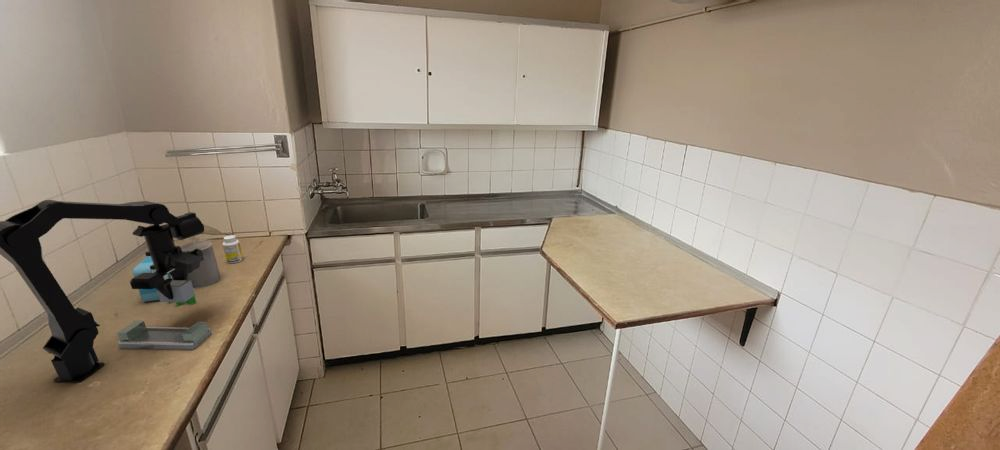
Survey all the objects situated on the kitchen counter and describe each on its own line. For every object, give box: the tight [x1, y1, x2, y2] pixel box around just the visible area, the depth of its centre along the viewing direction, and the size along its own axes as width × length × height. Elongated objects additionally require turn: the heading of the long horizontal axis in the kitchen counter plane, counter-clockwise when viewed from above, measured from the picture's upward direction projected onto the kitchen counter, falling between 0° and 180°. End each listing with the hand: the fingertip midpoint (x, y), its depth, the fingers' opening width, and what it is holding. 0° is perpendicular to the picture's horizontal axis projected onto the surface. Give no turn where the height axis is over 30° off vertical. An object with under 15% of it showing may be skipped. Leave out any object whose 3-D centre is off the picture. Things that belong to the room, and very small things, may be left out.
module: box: [157, 280, 196, 303], centre depth 114 cm, size 4×7×5 cm, turn 89°
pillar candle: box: [180, 240, 221, 289], centre depth 139 cm, size 10×10×15 cm
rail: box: [116, 320, 213, 351], centre depth 109 cm, size 7×20×4 cm, turn 89°
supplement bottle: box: [222, 234, 244, 264], centre depth 156 cm, size 6×6×10 cm
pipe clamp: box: [167, 295, 197, 307], centre depth 128 cm, size 11×4×5 cm, turn 67°
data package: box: [132, 256, 173, 303], centre depth 131 cm, size 12×4×12 cm, turn 21°
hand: (177, 295), depth 115 cm, fingers closed on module, 4 cm apart
